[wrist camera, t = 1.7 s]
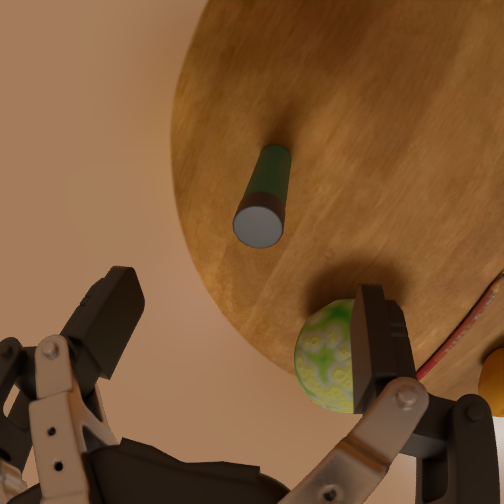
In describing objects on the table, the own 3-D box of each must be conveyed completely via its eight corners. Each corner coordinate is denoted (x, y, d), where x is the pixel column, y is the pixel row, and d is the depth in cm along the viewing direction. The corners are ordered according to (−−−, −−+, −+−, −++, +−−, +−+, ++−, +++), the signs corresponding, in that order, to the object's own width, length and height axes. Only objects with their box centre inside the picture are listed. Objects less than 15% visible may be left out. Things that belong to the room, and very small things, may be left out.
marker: (252, 155, 22) (222, 222, 14) (278, 137, 20) (262, 196, 13) (272, 180, 22) (253, 256, 15) (298, 163, 21) (293, 234, 14)
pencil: (415, 378, 35) (416, 385, 34) (409, 378, 35) (410, 384, 34) (507, 269, 23) (511, 275, 22) (501, 266, 23) (505, 273, 22)
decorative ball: (278, 294, 29) (264, 390, 21) (384, 259, 25) (406, 359, 17) (319, 353, 33) (315, 436, 25) (406, 328, 29) (421, 415, 21)
